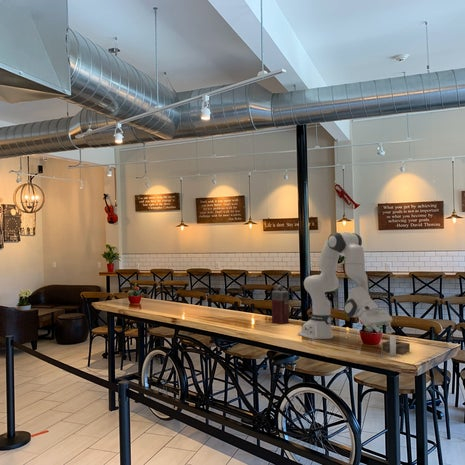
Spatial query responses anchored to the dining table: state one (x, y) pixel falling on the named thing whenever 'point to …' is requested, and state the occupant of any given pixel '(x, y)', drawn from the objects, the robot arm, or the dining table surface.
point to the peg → (392, 346)
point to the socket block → (397, 347)
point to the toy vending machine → (280, 306)
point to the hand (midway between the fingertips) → (385, 330)
